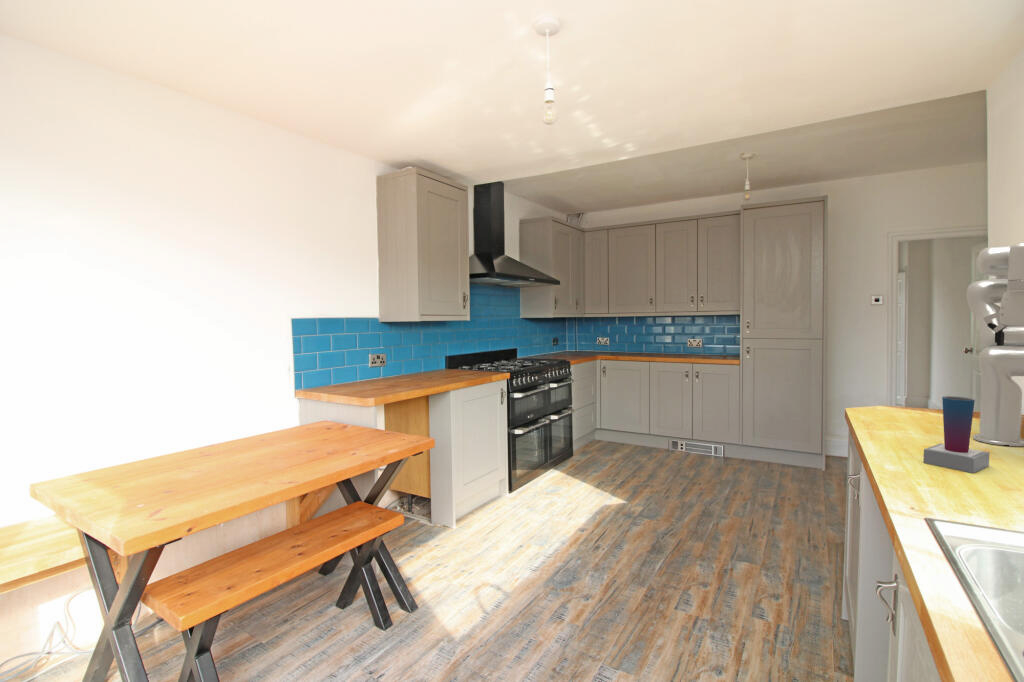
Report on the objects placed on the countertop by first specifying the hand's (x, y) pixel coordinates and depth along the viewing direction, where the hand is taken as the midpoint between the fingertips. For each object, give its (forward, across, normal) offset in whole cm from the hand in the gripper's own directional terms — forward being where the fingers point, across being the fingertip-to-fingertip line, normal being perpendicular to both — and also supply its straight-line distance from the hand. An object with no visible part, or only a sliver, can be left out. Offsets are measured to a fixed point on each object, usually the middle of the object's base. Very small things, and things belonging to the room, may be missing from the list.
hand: (1023, 346), depth 140 cm
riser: (+33, +8, +19) cm, 39 cm away
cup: (+29, +8, +19) cm, 36 cm away
